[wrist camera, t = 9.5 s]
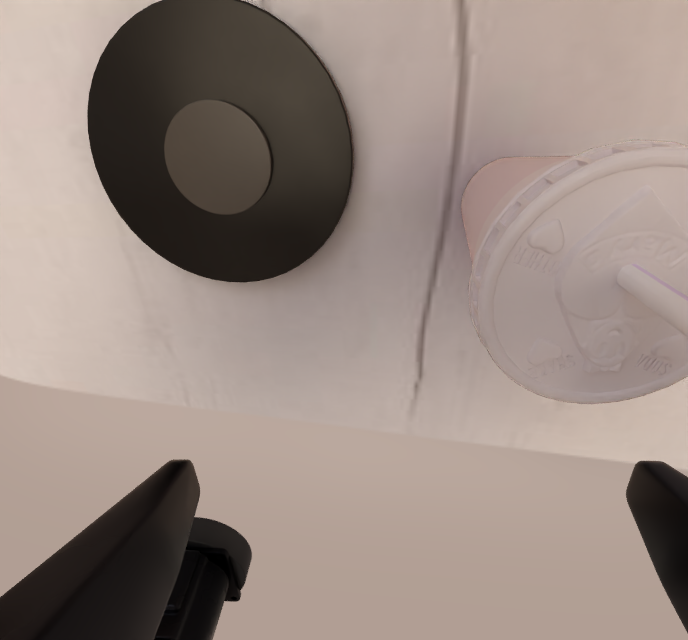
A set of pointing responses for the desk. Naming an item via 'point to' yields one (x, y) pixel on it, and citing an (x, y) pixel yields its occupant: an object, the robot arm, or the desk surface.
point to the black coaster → (220, 138)
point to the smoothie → (583, 269)
